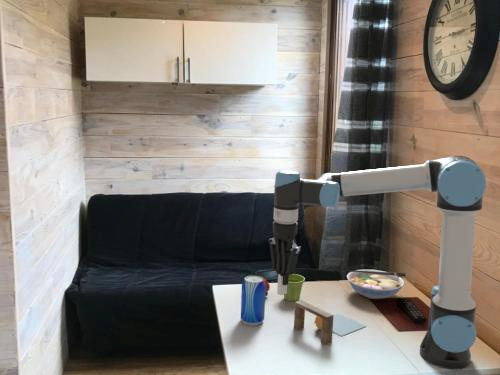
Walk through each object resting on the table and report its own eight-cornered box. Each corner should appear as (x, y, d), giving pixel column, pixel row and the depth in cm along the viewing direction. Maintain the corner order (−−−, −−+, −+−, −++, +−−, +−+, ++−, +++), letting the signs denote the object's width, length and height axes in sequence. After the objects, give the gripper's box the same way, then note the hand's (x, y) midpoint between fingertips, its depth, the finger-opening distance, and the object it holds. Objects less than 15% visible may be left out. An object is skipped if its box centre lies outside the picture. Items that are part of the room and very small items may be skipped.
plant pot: (302, 304, 203) (303, 283, 201) (278, 302, 205) (279, 280, 203) (304, 295, 212) (305, 275, 210) (281, 293, 214) (282, 272, 212)
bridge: (299, 325, 184) (301, 299, 183) (331, 342, 173) (333, 315, 171) (293, 328, 182) (295, 301, 181) (325, 345, 171) (327, 317, 169)
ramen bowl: (342, 303, 205) (343, 284, 203) (343, 283, 227) (344, 265, 226) (408, 310, 201) (410, 290, 199) (402, 288, 223) (404, 270, 221)
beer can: (259, 328, 181) (261, 284, 178) (237, 324, 184) (238, 281, 181) (267, 318, 189) (268, 276, 186) (245, 314, 192) (246, 273, 189)
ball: (326, 336, 179) (337, 326, 182) (322, 322, 176) (333, 312, 180) (313, 330, 183) (324, 320, 186) (309, 317, 181) (320, 307, 184)
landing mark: (366, 326, 185) (366, 326, 185) (341, 336, 177) (341, 335, 177) (338, 313, 195) (338, 313, 195) (313, 322, 187) (313, 322, 187)
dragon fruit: (255, 306, 204) (257, 298, 216) (273, 294, 203) (274, 287, 215) (243, 287, 204) (245, 281, 216) (261, 276, 203) (263, 270, 215)
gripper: (262, 218, 163) (259, 289, 168) (291, 227, 153) (287, 303, 158) (280, 215, 168) (277, 284, 172) (309, 224, 158) (305, 297, 162)
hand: (282, 293), depth 165 cm, fingers closed
